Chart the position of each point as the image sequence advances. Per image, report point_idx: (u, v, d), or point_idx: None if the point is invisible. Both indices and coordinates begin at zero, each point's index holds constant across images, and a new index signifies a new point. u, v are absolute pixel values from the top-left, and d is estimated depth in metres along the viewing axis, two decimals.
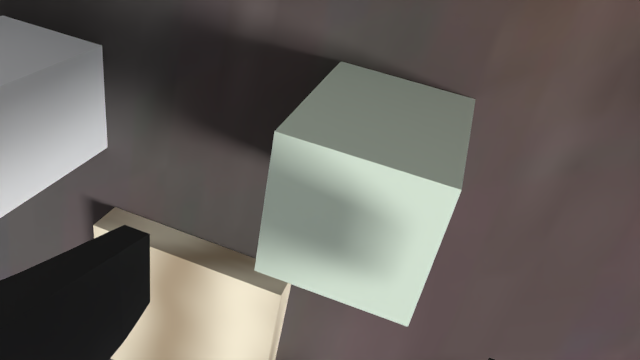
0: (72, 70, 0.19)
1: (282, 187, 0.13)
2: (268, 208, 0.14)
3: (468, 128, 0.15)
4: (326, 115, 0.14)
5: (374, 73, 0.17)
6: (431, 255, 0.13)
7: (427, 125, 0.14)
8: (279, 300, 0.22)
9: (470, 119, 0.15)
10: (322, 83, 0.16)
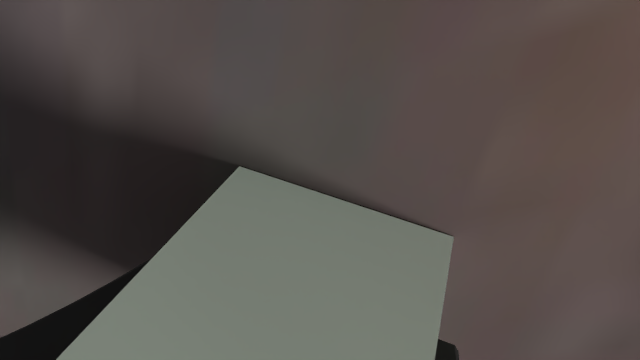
0: None
1: None
2: None
3: (435, 325, 0.08)
4: (158, 325, 0.07)
5: (289, 192, 0.10)
6: None
7: (358, 327, 0.08)
8: None
9: (441, 296, 0.09)
10: (186, 228, 0.09)
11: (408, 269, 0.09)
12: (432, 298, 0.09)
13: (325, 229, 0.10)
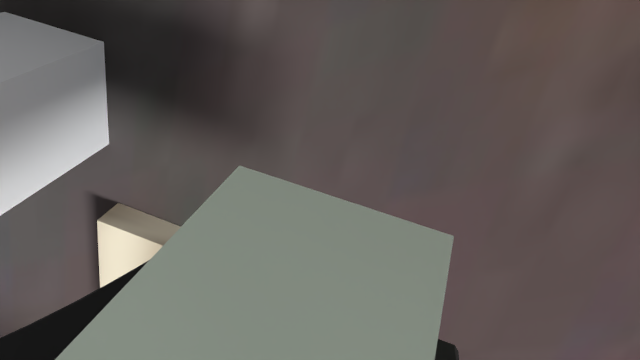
0: (74, 66, 0.19)
1: None
2: None
3: (435, 324, 0.08)
4: (158, 324, 0.07)
5: (289, 191, 0.10)
6: None
7: (358, 327, 0.08)
8: None
9: (441, 295, 0.09)
10: (185, 227, 0.09)
11: (408, 268, 0.09)
12: (432, 297, 0.09)
13: (325, 228, 0.10)
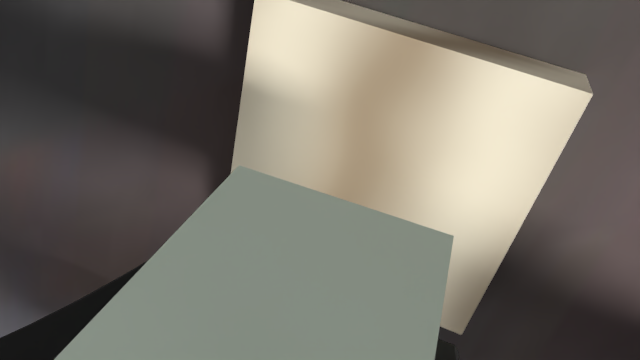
0: None
1: None
2: None
3: (435, 324, 0.08)
4: (157, 324, 0.07)
5: (288, 191, 0.10)
6: None
7: (358, 326, 0.08)
8: (585, 105, 0.13)
9: (441, 295, 0.09)
10: (185, 226, 0.09)
11: (408, 268, 0.09)
12: (432, 297, 0.09)
13: (325, 228, 0.10)
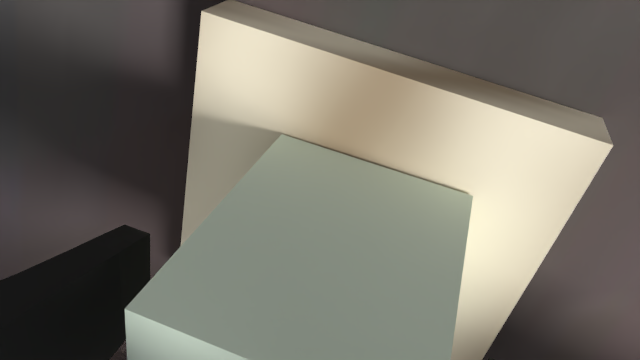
0: None
1: None
2: None
3: (459, 264, 0.09)
4: (228, 257, 0.09)
5: (327, 156, 0.12)
6: None
7: (394, 264, 0.09)
8: (602, 158, 0.10)
9: (463, 242, 0.10)
10: (241, 183, 0.10)
11: (434, 220, 0.10)
12: (456, 243, 0.10)
13: (361, 187, 0.11)
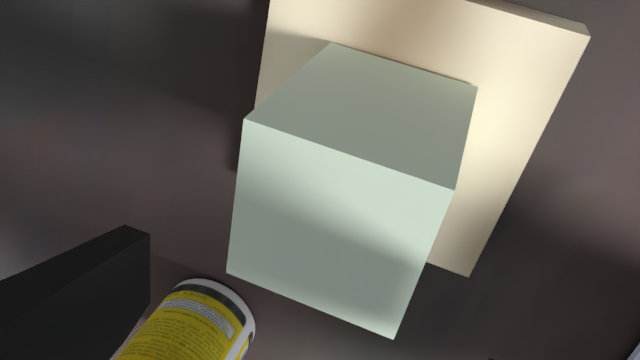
0: None
1: (254, 182, 0.12)
2: (239, 205, 0.12)
3: (467, 119, 0.13)
4: (305, 101, 0.12)
5: (366, 57, 0.15)
6: (420, 263, 0.11)
7: (421, 115, 0.13)
8: (583, 47, 0.14)
9: (470, 109, 0.14)
10: (307, 66, 0.14)
11: (449, 97, 0.14)
12: (465, 109, 0.14)
13: (393, 75, 0.15)
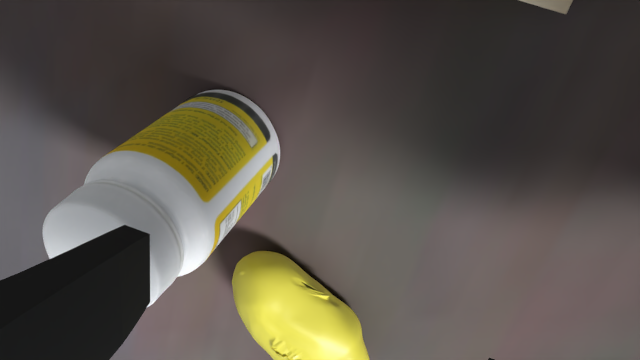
0: None
1: None
2: None
3: None
4: None
5: None
6: None
7: None
8: None
9: None
10: None
11: None
12: None
13: None
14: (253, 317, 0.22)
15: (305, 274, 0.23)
